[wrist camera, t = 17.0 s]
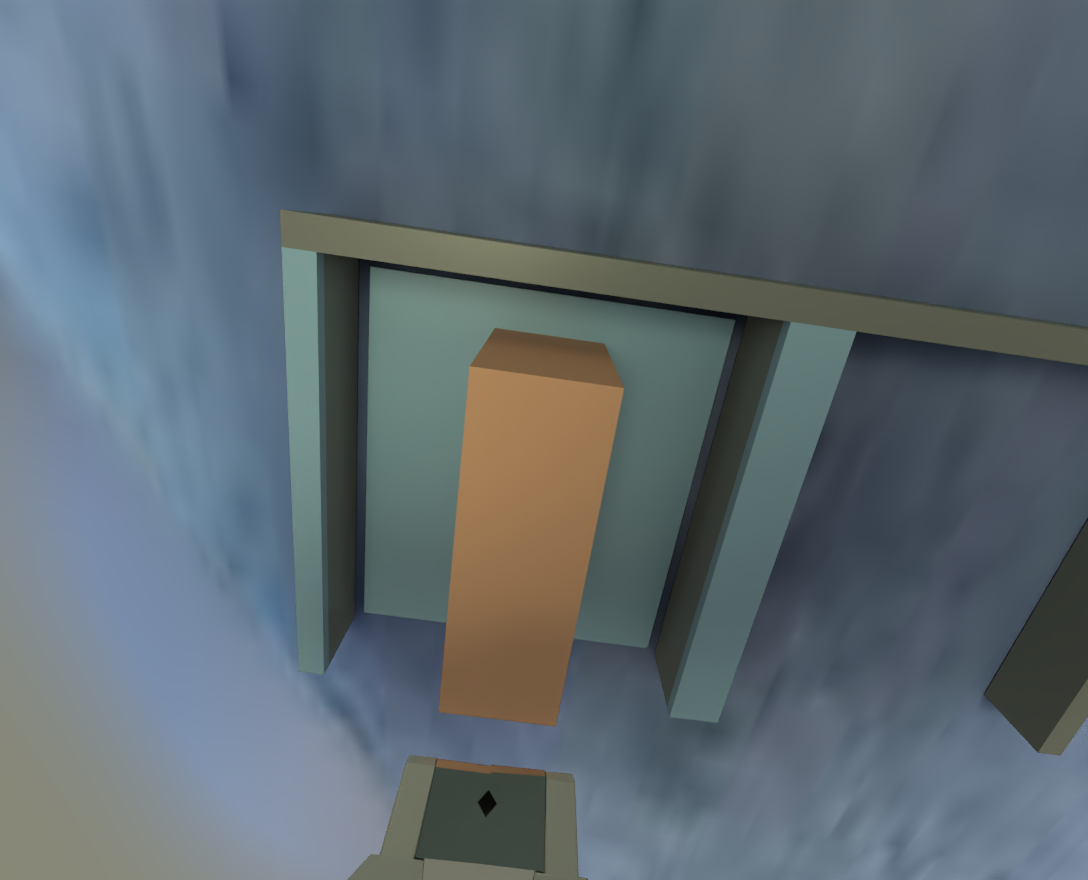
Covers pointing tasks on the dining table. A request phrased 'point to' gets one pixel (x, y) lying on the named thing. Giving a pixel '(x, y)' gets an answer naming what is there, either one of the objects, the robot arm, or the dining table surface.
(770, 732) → the dining table surface
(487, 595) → the long orange rectangular block
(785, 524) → the gate frame with panel
